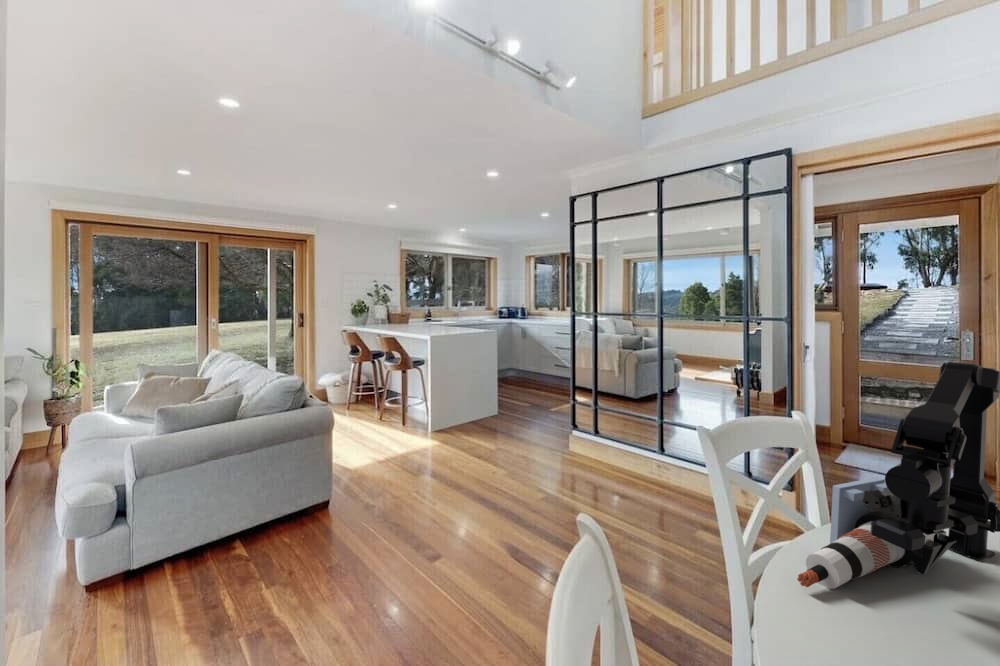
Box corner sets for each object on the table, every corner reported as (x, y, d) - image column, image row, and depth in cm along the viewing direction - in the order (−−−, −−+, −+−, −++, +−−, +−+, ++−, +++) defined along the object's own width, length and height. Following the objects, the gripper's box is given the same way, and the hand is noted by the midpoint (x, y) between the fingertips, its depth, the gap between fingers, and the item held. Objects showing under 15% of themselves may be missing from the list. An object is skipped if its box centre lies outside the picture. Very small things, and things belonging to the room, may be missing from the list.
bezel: (874, 538, 101) (877, 477, 100) (892, 546, 98) (896, 483, 97) (829, 549, 97) (832, 485, 96) (847, 558, 94) (850, 492, 93)
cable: (792, 608, 85) (767, 550, 88) (899, 550, 98) (874, 502, 101) (843, 616, 76) (814, 551, 80) (954, 551, 89) (924, 498, 92)
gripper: (907, 465, 90) (903, 541, 91) (841, 477, 84) (837, 558, 85) (982, 486, 80) (976, 572, 81) (912, 502, 74) (906, 594, 75)
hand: (921, 573), depth 81 cm, fingers closed
